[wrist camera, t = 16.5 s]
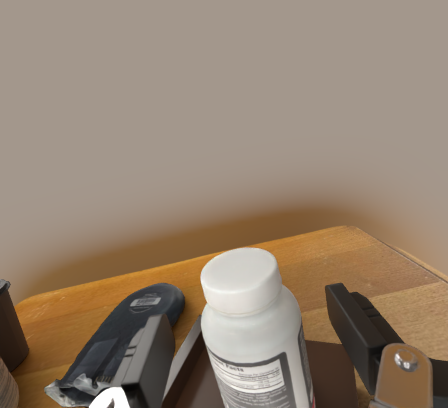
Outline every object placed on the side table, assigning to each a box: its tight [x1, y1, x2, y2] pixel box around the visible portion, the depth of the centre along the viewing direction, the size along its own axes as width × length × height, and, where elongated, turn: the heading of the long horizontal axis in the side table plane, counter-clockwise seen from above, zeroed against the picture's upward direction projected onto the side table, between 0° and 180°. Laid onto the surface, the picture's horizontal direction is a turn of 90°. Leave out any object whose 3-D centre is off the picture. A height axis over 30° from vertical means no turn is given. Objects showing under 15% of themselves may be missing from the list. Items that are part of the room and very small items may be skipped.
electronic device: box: [44, 283, 185, 407], centre depth 28 cm, size 9×6×15 cm
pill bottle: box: [201, 248, 315, 408], centre depth 14 cm, size 5×5×10 cm
